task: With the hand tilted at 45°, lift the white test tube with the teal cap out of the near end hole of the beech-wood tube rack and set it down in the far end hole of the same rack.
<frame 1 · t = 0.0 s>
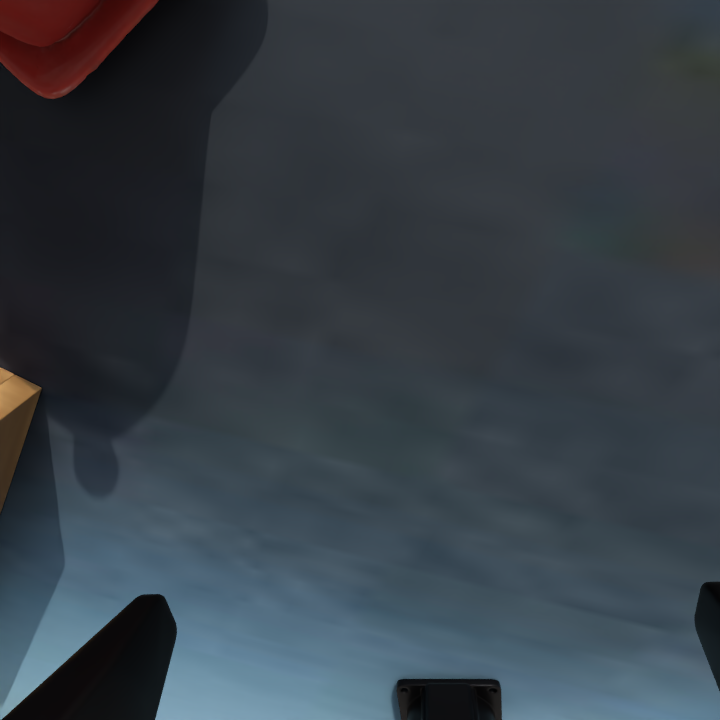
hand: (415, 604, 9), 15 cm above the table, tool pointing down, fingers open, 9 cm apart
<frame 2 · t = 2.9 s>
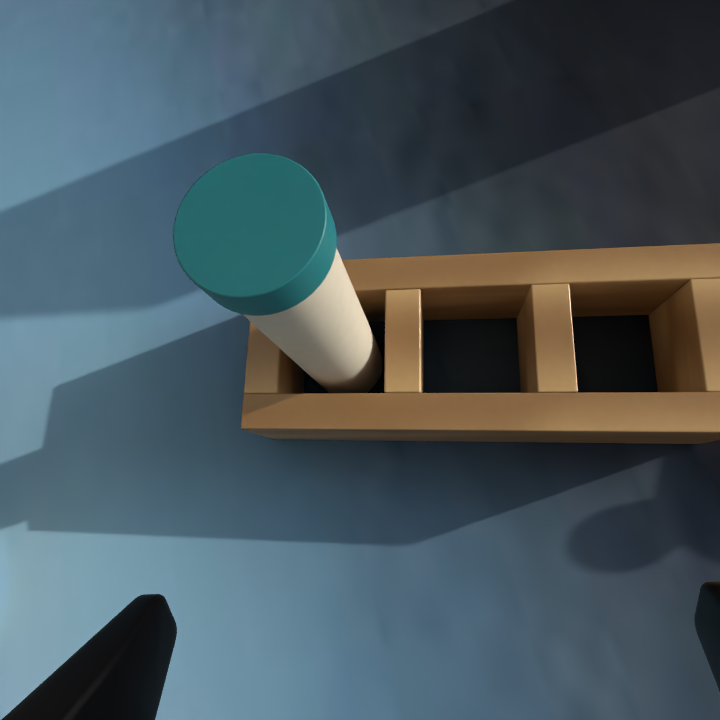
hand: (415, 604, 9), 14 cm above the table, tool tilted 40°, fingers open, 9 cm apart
test tube: (349, 365, 24), resting in tube rack
tube rack: (470, 363, 23), on the table
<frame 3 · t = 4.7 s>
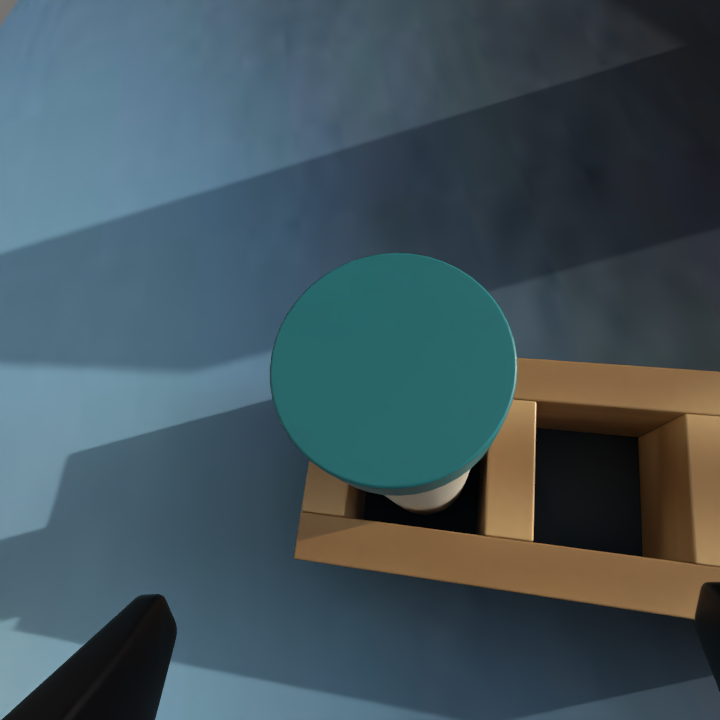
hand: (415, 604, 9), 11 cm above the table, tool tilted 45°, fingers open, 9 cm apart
test tube: (423, 471, 20), resting in tube rack
tube rack: (577, 488, 19), on the table
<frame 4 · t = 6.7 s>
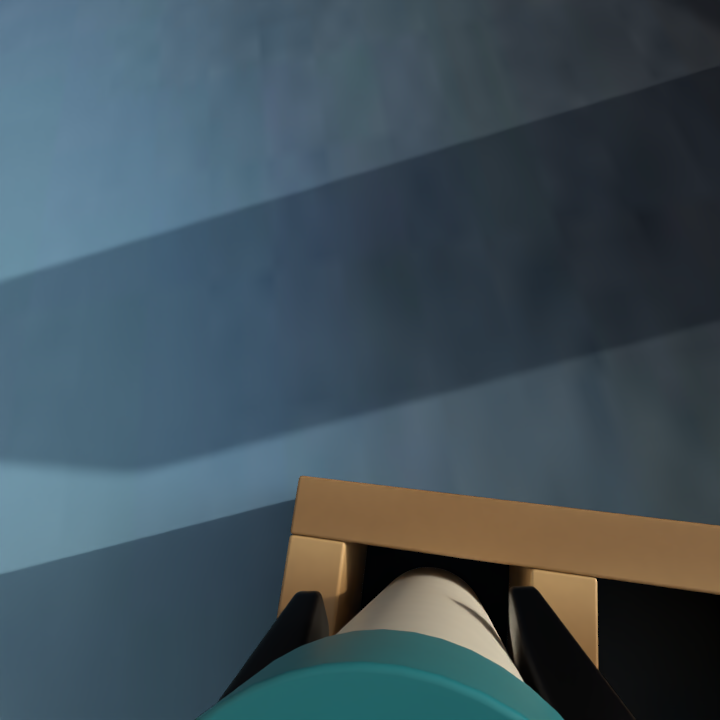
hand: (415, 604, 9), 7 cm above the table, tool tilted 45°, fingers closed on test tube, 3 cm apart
test tube: (430, 625, 15), resting in tube rack, touching gripper
tube rack: (640, 661, 14), on the table
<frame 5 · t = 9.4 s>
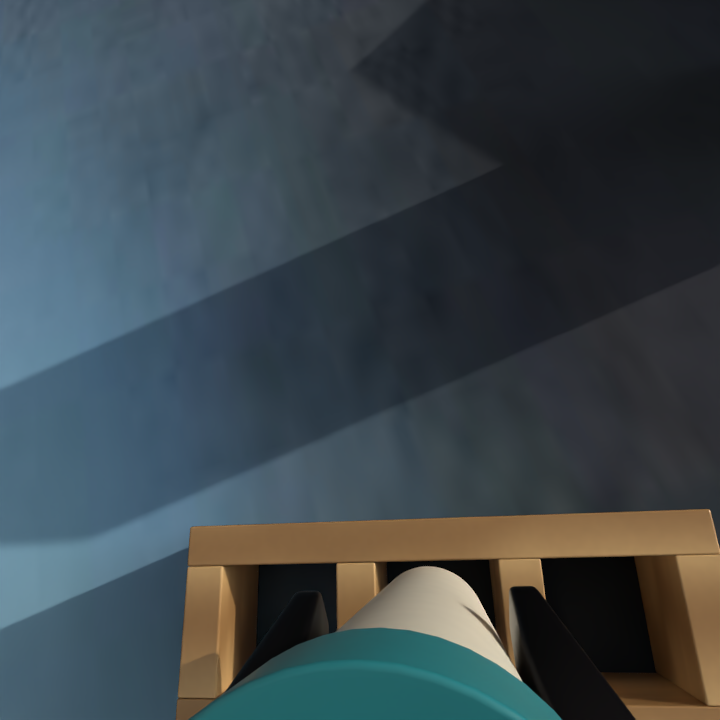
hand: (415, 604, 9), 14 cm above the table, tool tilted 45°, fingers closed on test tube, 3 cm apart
test tube: (430, 625, 15), point 6 cm above the table, touching gripper
tube rack: (440, 611, 21), on the table
when the fingers open (7 cm above the table, at t = 12.4 s): test tube stays where it is, resting in tube rack.
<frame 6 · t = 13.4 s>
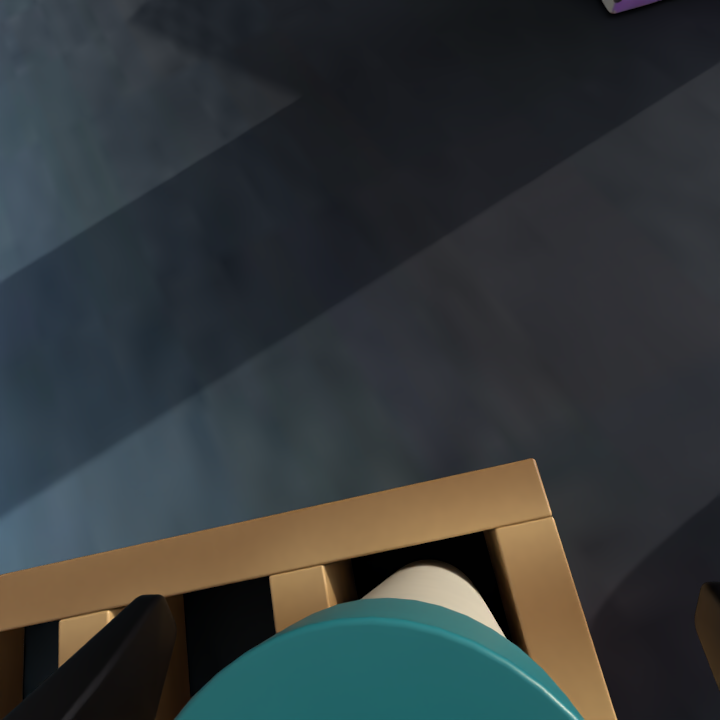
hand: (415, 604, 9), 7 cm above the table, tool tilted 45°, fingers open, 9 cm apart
test tube: (431, 616, 15), resting in tube rack
tube rack: (253, 652, 16), on the table
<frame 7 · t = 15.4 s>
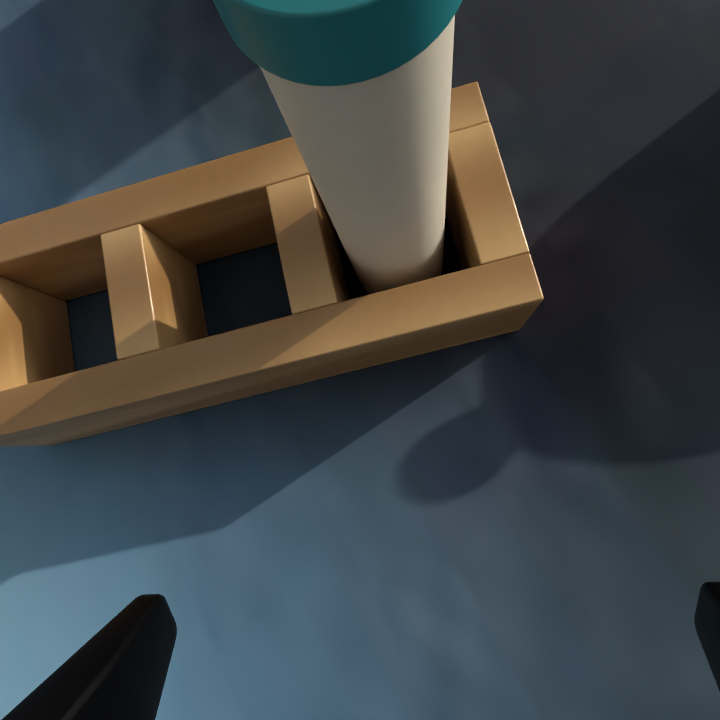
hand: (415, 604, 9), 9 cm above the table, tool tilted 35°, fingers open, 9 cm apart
test tube: (399, 263, 19), resting in tube rack
tube rack: (257, 301, 19), on the table
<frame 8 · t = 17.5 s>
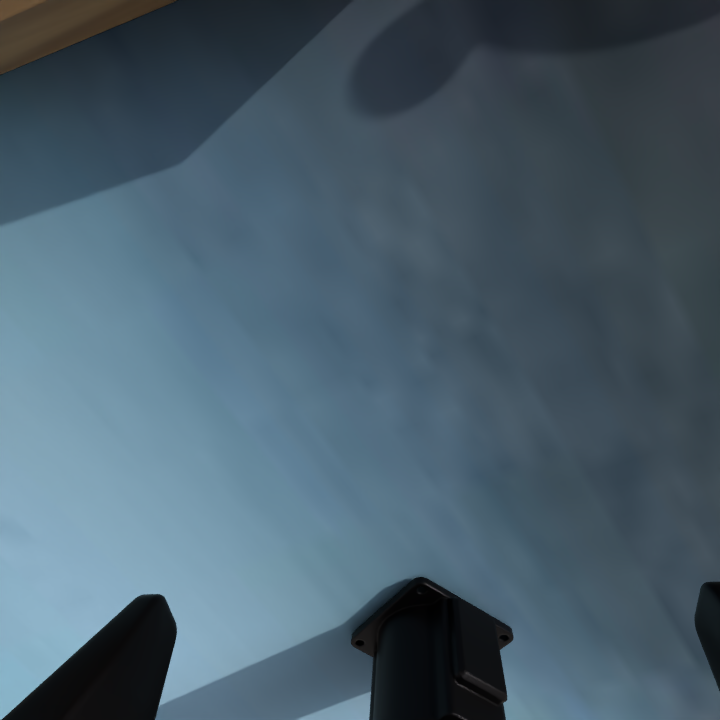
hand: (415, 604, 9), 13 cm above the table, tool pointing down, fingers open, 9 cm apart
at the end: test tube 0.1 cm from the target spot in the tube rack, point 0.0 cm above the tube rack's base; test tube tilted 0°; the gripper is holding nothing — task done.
